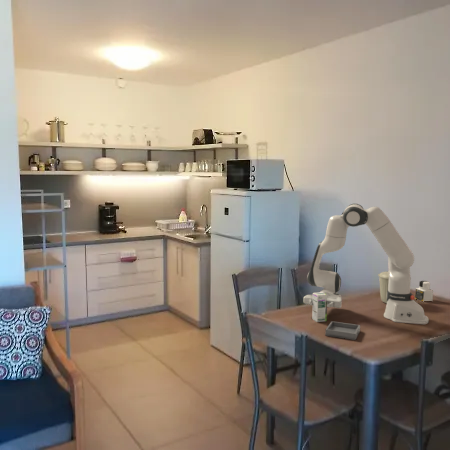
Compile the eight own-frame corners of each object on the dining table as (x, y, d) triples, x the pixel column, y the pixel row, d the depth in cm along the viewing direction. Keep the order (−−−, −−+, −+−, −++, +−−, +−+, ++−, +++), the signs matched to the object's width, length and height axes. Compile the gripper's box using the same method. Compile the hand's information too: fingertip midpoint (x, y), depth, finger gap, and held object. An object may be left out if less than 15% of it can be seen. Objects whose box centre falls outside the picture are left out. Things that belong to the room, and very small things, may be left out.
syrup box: (316, 322, 240) (317, 295, 239) (311, 318, 246) (312, 292, 244) (326, 321, 242) (327, 294, 240) (321, 318, 248) (322, 291, 246)
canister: (383, 297, 292) (384, 264, 290) (412, 302, 281) (414, 268, 279) (372, 302, 279) (373, 268, 276) (402, 308, 267) (404, 272, 265)
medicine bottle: (414, 299, 288) (416, 280, 286) (424, 298, 290) (425, 279, 289) (423, 302, 281) (424, 283, 280) (432, 301, 283) (433, 282, 282)
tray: (360, 331, 228) (360, 325, 227) (355, 340, 215) (355, 333, 215) (331, 326, 234) (331, 321, 233) (325, 335, 221) (325, 329, 221)
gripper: (306, 290, 259) (300, 296, 246) (344, 295, 250) (339, 301, 238) (306, 301, 259) (299, 308, 247) (343, 306, 251) (338, 313, 239)
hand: (319, 304), depth 242 cm, fingers closed on syrup box, 8 cm apart
